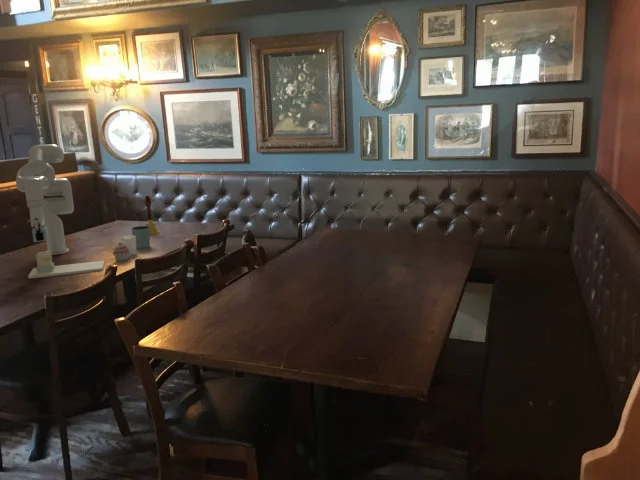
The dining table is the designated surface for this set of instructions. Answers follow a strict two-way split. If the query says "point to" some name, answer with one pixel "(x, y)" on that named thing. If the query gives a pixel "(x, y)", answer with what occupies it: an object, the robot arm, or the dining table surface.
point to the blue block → (45, 234)
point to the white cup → (130, 243)
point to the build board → (66, 269)
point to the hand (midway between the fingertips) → (41, 238)
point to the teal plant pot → (142, 236)
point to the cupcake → (121, 252)
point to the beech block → (44, 259)
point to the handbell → (150, 223)
